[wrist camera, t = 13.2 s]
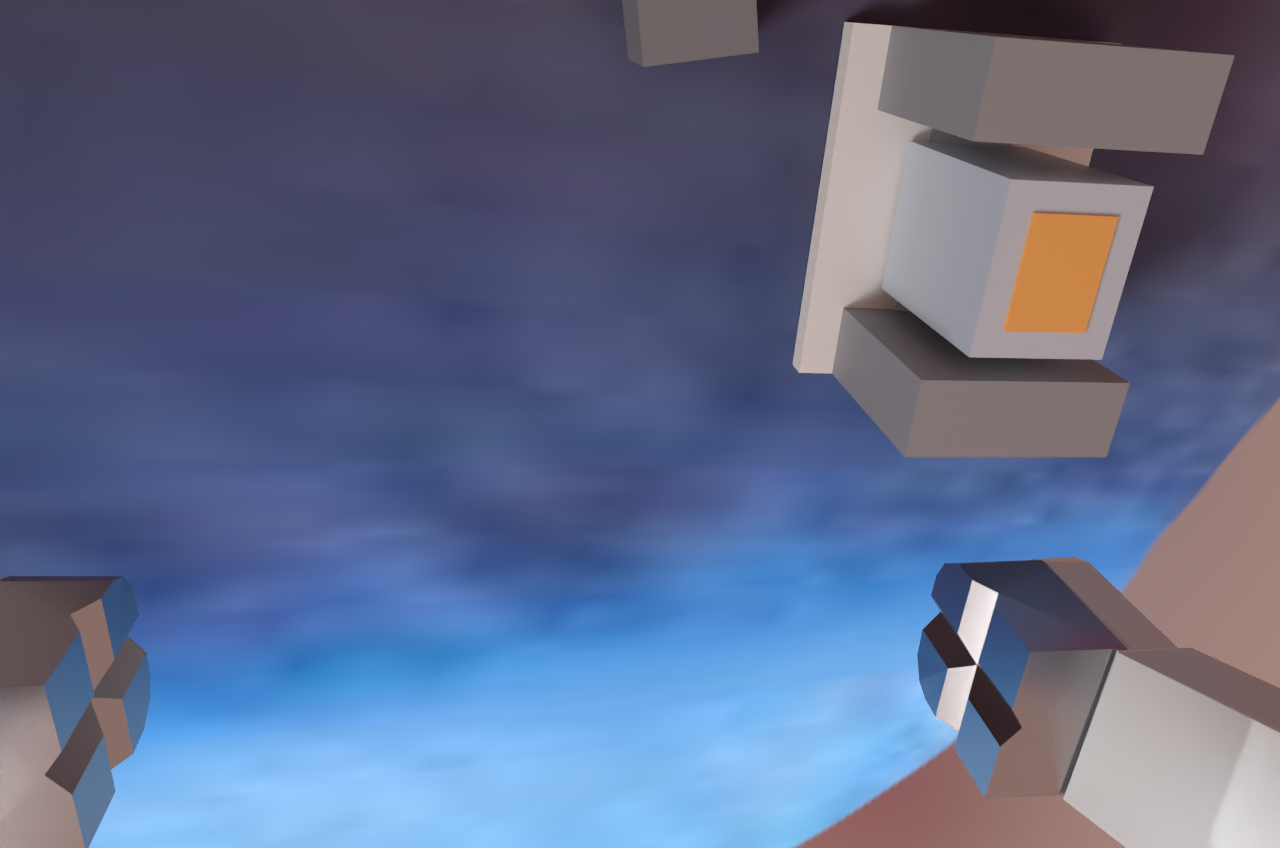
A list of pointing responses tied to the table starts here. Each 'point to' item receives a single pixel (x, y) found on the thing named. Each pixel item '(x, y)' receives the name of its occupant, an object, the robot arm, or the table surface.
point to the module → (1013, 249)
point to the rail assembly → (982, 115)
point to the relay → (689, 30)
